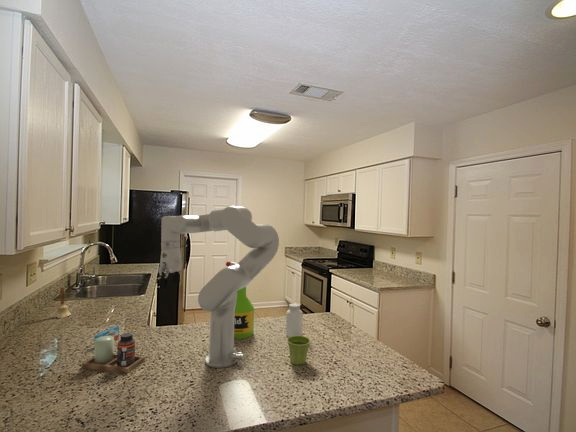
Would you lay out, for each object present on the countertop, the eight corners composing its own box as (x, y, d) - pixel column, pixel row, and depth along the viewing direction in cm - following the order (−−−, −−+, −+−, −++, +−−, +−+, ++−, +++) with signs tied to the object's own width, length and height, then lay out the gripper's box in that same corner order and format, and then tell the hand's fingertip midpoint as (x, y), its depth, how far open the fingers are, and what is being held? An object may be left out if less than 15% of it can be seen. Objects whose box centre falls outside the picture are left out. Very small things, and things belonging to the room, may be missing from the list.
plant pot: (314, 360, 126) (314, 338, 126) (303, 369, 118) (303, 346, 118) (293, 354, 131) (294, 333, 131) (282, 363, 123) (282, 341, 123)
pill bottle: (284, 337, 149) (284, 306, 149) (288, 331, 157) (288, 301, 157) (300, 339, 147) (301, 307, 147) (303, 333, 155) (304, 303, 155)
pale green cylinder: (117, 359, 121) (117, 336, 121) (104, 367, 115) (105, 343, 115) (102, 358, 122) (103, 335, 122) (89, 365, 116) (90, 341, 116)
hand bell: (54, 319, 168) (54, 290, 168) (52, 315, 174) (53, 287, 174) (72, 316, 174) (73, 287, 174) (70, 313, 180) (71, 285, 180)
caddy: (145, 363, 121) (145, 356, 121) (127, 375, 111) (127, 368, 111) (102, 358, 124) (102, 351, 124) (81, 370, 114) (81, 363, 114)
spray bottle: (223, 326, 162) (224, 259, 163) (256, 329, 159) (258, 261, 159) (212, 336, 149) (213, 263, 149) (248, 339, 146) (250, 264, 146)
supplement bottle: (127, 369, 113) (127, 338, 113) (112, 367, 115) (113, 336, 115) (138, 362, 119) (138, 332, 119) (124, 360, 120) (125, 331, 120)
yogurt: (116, 339, 143) (116, 325, 143) (118, 339, 143) (119, 326, 143) (94, 350, 132) (94, 335, 132) (97, 350, 131) (97, 335, 131)
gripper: (168, 246, 123) (167, 290, 123) (188, 243, 140) (188, 281, 140) (150, 246, 124) (150, 289, 124) (172, 243, 142) (172, 280, 141)
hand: (170, 285), depth 132 cm, fingers open, 9 cm apart
